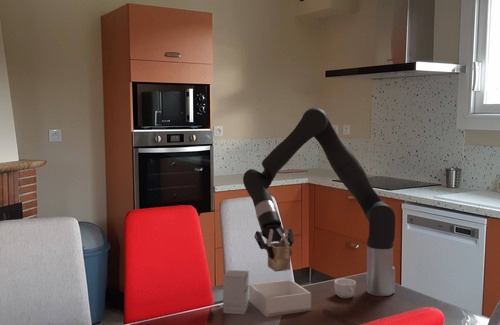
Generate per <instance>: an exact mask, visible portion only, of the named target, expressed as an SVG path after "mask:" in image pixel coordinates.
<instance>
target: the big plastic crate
mask: <svg viewBox="0 0 500 325" xmlns="http://www.w3.org/2000/svg"><path fill="white" fill-rule="evenodd" d="M249 303H250V304H252V306H254V307H255V308H256V309H257V310H258V311H259V313H261V314H262V315H263V316H265V318H270V317H275V316H283V315H290V314H297V313H305V312H310V311H312V293H311V292H310V291H309V290H307V289H306V288H304V287H303V286H301V285H300V284H298V283H296V282H295V281H293V280H292V279H284V280H276V281H268V282H267V281H266V282H259V283H249Z"/></svg>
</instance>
